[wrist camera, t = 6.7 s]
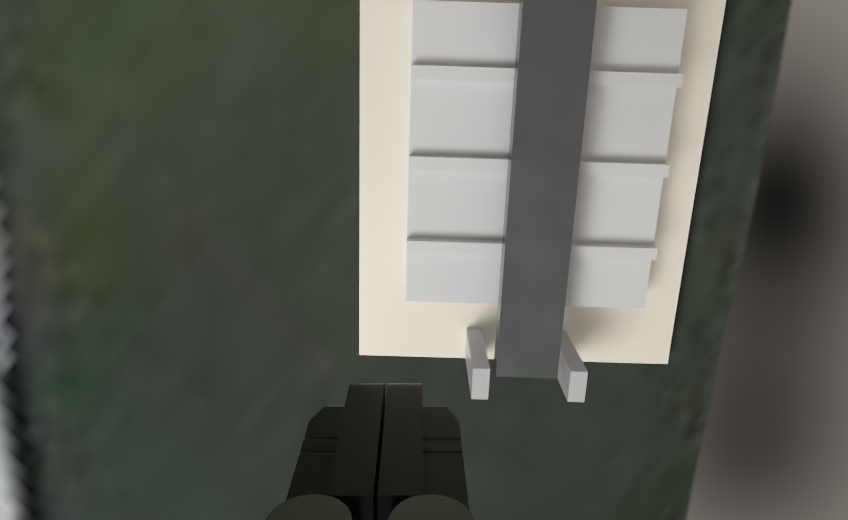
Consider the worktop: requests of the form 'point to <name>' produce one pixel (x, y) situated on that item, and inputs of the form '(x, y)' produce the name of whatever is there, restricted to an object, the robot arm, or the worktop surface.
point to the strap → (542, 182)
